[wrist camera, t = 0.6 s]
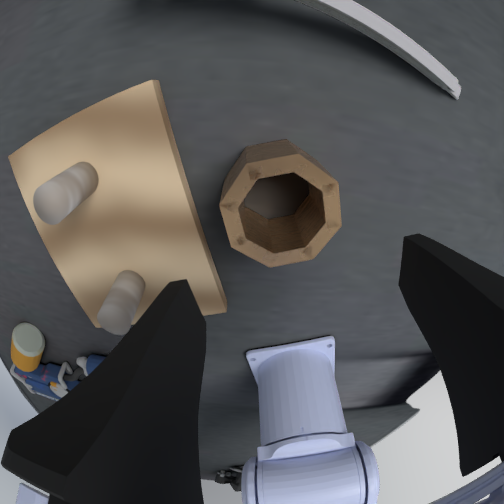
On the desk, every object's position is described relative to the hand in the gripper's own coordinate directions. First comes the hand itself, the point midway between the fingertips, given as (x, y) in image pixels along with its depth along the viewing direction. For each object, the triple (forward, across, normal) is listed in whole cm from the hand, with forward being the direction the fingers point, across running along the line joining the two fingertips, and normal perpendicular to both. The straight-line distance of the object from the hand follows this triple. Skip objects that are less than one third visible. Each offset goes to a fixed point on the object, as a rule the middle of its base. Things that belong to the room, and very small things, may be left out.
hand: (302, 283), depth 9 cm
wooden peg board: (+9, +11, 0) cm, 14 cm away
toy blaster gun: (+10, +28, +15) cm, 33 cm away
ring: (+9, 0, 0) cm, 9 cm away
